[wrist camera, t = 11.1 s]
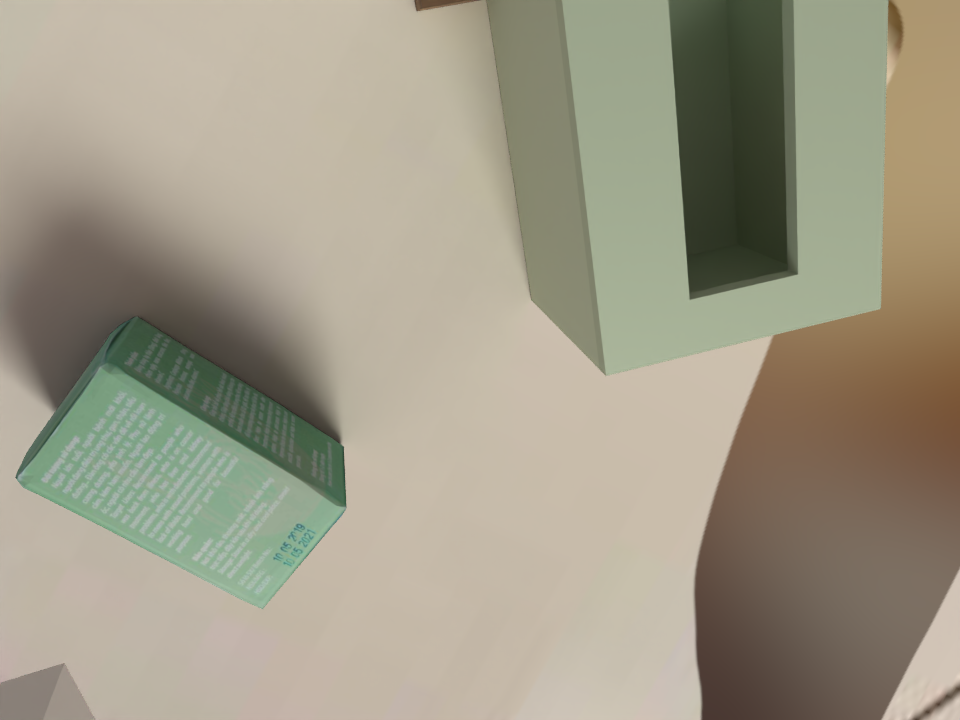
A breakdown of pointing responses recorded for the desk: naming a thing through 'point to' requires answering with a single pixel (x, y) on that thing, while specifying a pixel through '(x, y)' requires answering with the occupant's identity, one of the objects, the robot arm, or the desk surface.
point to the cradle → (437, 3)
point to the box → (189, 464)
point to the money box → (694, 166)
